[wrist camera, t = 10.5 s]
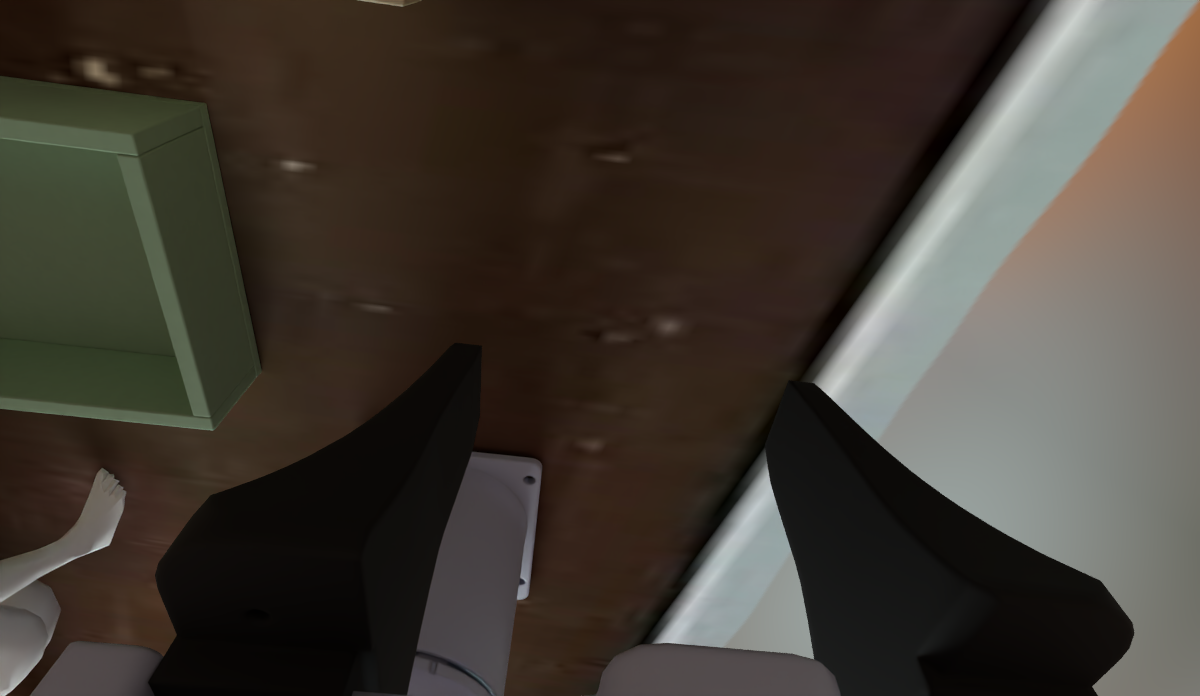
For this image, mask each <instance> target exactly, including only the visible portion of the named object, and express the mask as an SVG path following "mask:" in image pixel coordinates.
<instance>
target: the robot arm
mask: <svg viewBox="0 0 1200 696" xmlns="http://www.w3.org/2000/svg"><path fill="white" fill-rule="evenodd" d="M481 358H482V346H479V345H471V344H462V343H454V344H453V345H451V346H450V347H449V348H448V349H447V350H446V351H445V353H444V354H443V355H442V356H441V357H440V358H439V359H438V360H437V361H436V362H435V363H434V364H433V365H432V366H431V367H430V368H429V369H428V370H427V371H426V372H425V373H424V374H423V375H422V376H421V377H420V378H419V379H418V380H417V381H415V382H414V383H413V384H412V385H411V386H410V387H409V388H408V389H407V390H406V391H405V392H403V393H402V394H401V395H400V396H399V397H398V398H396V399H395V400H394V401H393V402H391V403H390V404H389V405H388V406H387V407H385V408H384V409H383V410H382V411H380V412H379V413H378V414H376V415H375V416H374V417H372V418H371V419H370V420H368V421H367V422H365V423H364V424H363V425H361V426H360V427H358V428H357V429H355V430H354V431H352V432H351V433H349V434H348V435H346V436H344V437H343V438H341V439H339V440H337V441H335V442H334V443H332V444H330V445H328V446H326V447H325V448H323V449H321V450H319V451H317V452H316V453H314V454H312V455H310V456H308V457H306V458H304V459H302V460H300V461H298V462H296V463H293V464H291V465H289V466H287V467H285V468H282V469H280V470H278V471H275V472H273V473H271V474H268V475H266V476H263V477H261V478H258V479H256V480H253V481H250V482H247V483H245V484H242V485H239V486H236V487H233V488H231V489H228V490H225V491H222V492H219V493H216V494H213V495H211V496H210V497H209V498H208V499H207V500H206V501H205V503H204V504H203V505H202V506H201V507H200V508H199V509H198V510H197V511H196V513H195V514H194V515H193V516H192V518H191V519H190V520H189V521H188V523H187V524H186V525H185V527H184V528H183V529H182V531H181V532H180V534H179V535H178V536H177V538H176V539H175V541H174V542H173V543H172V545H171V546H170V548H169V549H168V550H167V552H166V553H165V555H164V556H163V557H162V559H161V560H160V562H159V563H158V567H157V570H156V574H155V577H156V582H157V587H158V590H159V593H160V595H161V598H162V600H163V602H164V605H165V607H166V610H167V612H168V614H169V617H170V619H171V622H172V624H173V626H174V629H175V631H176V634H177V636H176V638H175V639H174V641H173V643H172V644H171V646H170V647H169V649H168V651H167V652H166V654H165V656H164V657H163V656H162V655H161V654H160V653H159V652H157V651H155V650H153V649H151V648H147V647H142V646H135V645H123V644H110V643H98V642H86V641H76V642H72V643H70V644H69V645H68V646H67V648H66V649H65V650H64V652H63V653H62V654H61V656H60V657H59V658H58V659H57V661H56V662H55V663H54V665H53V666H52V667H51V669H50V670H49V671H48V673H47V674H46V675H45V676H44V678H43V679H42V680H41V682H40V683H39V684H38V686H37V687H36V688H35V690H34V691H33V692H32V693H31V695H30V696H503V695H504V688H505V681H506V674H507V667H508V659H509V652H510V645H511V638H512V631H513V624H514V616H515V609H516V602H517V600H521V599H525V598H526V597H528V595H529V588H530V578H531V569H532V559H533V550H534V541H535V531H536V522H537V512H538V503H539V494H540V484H541V475H542V464H541V462H540V461H538V460H537V459H534V458H528V457H519V456H509V455H499V454H490V453H480V452H472V450H473V445H474V441H475V436H476V431H477V426H478V422H479V417H480V392H481ZM765 449H766V456H767V464H768V470H769V476H770V482H771V486H772V489H773V493H774V496H775V499H776V503H777V506H778V509H779V512H780V516H781V519H782V522H783V525H784V528H785V532H786V535H787V538H788V541H789V544H790V548H791V551H792V554H793V557H794V560H795V564H796V567H797V571H798V575H799V579H800V582H801V587H802V593H803V597H804V603H805V608H806V613H807V618H808V624H809V630H810V636H811V642H812V648H813V654H814V659H810V658H806V657H802V656H798V655H795V654H788V653H776V652H765V651H753V650H742V649H730V648H719V647H707V646H696V645H684V644H672V643H661V644H646V645H639V646H636V647H634V648H632V649H629V650H627V651H624V652H622V653H620V654H618V655H617V656H615V657H614V658H613V659H612V661H611V662H610V663H609V665H608V666H607V667H606V669H605V670H604V671H603V673H602V677H601V681H600V685H599V689H598V692H597V694H596V695H588V696H1098V695H1097V694H1096V692H1095V691H1094V689H1093V688H1092V686H1093V685H1094V684H1095V683H1096V682H1097V681H1098V680H1099V679H1100V678H1101V677H1102V676H1103V675H1104V674H1106V673H1107V672H1108V671H1109V670H1110V669H1111V668H1112V667H1113V666H1114V665H1115V664H1116V663H1117V662H1118V661H1119V660H1120V659H1121V658H1122V657H1123V655H1124V654H1125V653H1126V652H1127V650H1128V649H1129V648H1130V645H1131V642H1132V639H1133V636H1134V629H1133V624H1132V622H1131V620H1130V619H1129V618H1128V616H1127V615H1126V614H1125V612H1124V611H1123V610H1122V609H1121V607H1120V606H1119V604H1118V603H1117V602H1116V600H1115V599H1114V598H1113V597H1112V595H1111V594H1110V592H1109V591H1108V590H1107V588H1106V587H1105V586H1104V585H1103V583H1102V582H1101V581H1100V580H1098V579H1095V578H1093V577H1091V576H1089V575H1087V574H1085V573H1082V572H1080V571H1078V570H1076V569H1074V568H1072V567H1069V566H1067V565H1065V564H1063V563H1061V562H1059V561H1056V560H1054V559H1052V558H1050V557H1048V556H1046V555H1044V554H1042V553H1040V552H1038V551H1036V550H1034V549H1032V548H1030V547H1028V546H1027V545H1024V544H1023V543H1021V542H1019V541H1017V540H1015V539H1013V538H1011V537H1010V536H1008V535H1006V534H1004V533H1002V532H1001V531H999V530H997V529H996V528H994V527H992V526H990V525H989V524H987V523H986V522H984V521H982V520H981V519H979V518H978V517H976V516H974V515H973V514H971V513H969V512H968V511H966V510H965V509H963V508H961V507H960V506H958V505H957V504H955V503H954V502H952V501H951V500H950V499H948V498H947V497H945V496H944V495H942V494H941V493H940V492H938V491H937V490H936V489H934V488H933V487H931V486H930V485H929V484H927V483H926V482H925V481H923V480H922V479H920V478H919V477H918V476H917V475H915V474H914V473H913V472H911V471H910V470H909V469H908V468H907V467H905V466H904V465H903V464H902V463H901V462H899V461H898V460H897V459H896V458H895V457H893V456H892V455H891V454H890V453H889V452H888V451H886V450H885V449H884V448H883V447H882V446H881V445H880V444H879V443H877V442H876V441H875V440H874V439H873V438H872V437H871V436H870V435H869V434H868V433H867V432H865V431H864V430H863V429H862V428H861V427H860V426H859V425H858V424H857V423H856V422H855V421H854V420H853V419H852V418H851V417H850V416H849V415H848V414H847V413H846V412H845V411H843V410H842V409H841V408H840V407H839V406H838V405H837V404H836V403H835V402H834V401H833V400H832V399H831V398H830V397H829V396H828V395H827V394H826V393H825V392H823V391H822V390H821V389H820V388H819V387H818V386H817V385H815V384H814V383H806V382H798V381H788V384H787V386H786V389H785V392H784V395H783V397H782V400H781V403H780V406H779V408H778V411H777V414H776V417H775V419H774V422H773V425H772V428H771V430H770V433H769V436H768V439H767V441H766V444H765ZM526 476H531V477H533V478H527V477H526Z"/></svg>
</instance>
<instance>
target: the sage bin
mask: <svg viewBox="0 0 1200 696" xmlns="http://www.w3.org/2000/svg"><path fill="white" fill-rule="evenodd" d="M261 371H262V370H261V366H260V361H259V356H258V351H257V346H256V342H255V337H254V332H253V327H252V322H251V317H250V313H249V308H248V303H247V298H246V293H245V288H244V284H243V279H242V274H241V269H240V264H239V259H238V255H237V250H236V245H235V240H234V235H233V230H232V226H231V221H230V216H229V211H228V206H227V201H226V197H225V192H224V187H223V182H222V177H221V172H220V168H219V163H218V158H217V153H216V148H215V143H214V139H213V134H212V129H211V124H210V119H209V114H208V110H207V105H206V103H200V102H193V101H185V100H178V99H170V98H163V97H155V96H147V95H140V94H132V93H125V92H117V91H110V90H102V89H95V88H87V87H80V86H72V85H65V84H57V83H50V82H42V81H34V80H27V79H19V78H12V77H4V76H0V409H9V410H19V411H29V412H38V413H48V414H58V415H68V416H78V417H87V418H97V419H107V420H117V421H126V422H136V423H146V424H156V425H165V426H175V427H185V428H195V429H204V430H215V428H216V427H217V426H218V425H219V423H220V422H221V421H222V420H223V418H224V417H225V416H226V415H227V413H228V412H229V411H230V410H231V408H232V407H233V406H234V405H235V403H236V402H237V401H238V400H239V398H240V397H241V396H242V395H243V394H244V392H245V391H246V390H247V389H248V387H249V386H250V385H251V384H252V382H253V381H254V380H255V379H256V377H257V376H258V375H259V374H260V373H261Z"/></svg>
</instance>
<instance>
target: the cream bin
mask: <svg viewBox="0 0 1200 696" xmlns="http://www.w3.org/2000/svg"><path fill="white" fill-rule="evenodd" d="M360 1H366V2H373V3H380V4H387V5H394V6H401V7H403V6H406V5H409V4H412V3H415V2H418V1H421V0H360Z"/></svg>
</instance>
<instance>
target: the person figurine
mask: <svg viewBox="0 0 1200 696" xmlns="http://www.w3.org/2000/svg"><path fill="white" fill-rule="evenodd" d="M113 478H114V474H109V472H108V471H106V470H105V469H103V468H102V469H101V470H100V471H99V472H98V473H97V475H96V477H95V480H94V483H93V486H92V489H91V492H90V495H89V497H88V499H87V502H86V504H85V507H84V509H83V512H82V514H81V516H80V518H79V519H78V521H77V522H76V523H75V525H74V526H73V527H72V528H71V529H70V530H69V531H68V532H67V533H66V534H65V535H64V536H63V537H61V538H60V539H59V540H58V541H56V542H54V543H51V544H49V545H47V546H44V547H42V548H40V549H37V550H34V551H30V552H27V553H24V554H20V555H17V556H14V557H10V558H7V559H4V560H0V696H5V695H7V694H8V693H10V692H11V691H12V690H13V689H14V688H15V687H16V686H17V685H18V684H19V683H20V682H21V681H22V680H23V679H24V678H25V677H26V676H27V675H28V674H29V673H30V671H31V670H32V669H33V668H34V667H35V666H36V664H37V663H38V662H39V661H40V660H41V658H42V656H43V653H44V650H45V648H46V646H47V645H48V643H49V642H50V640H51V637H52V635H53V632H54V629H55V626H56V623H57V620H58V617H59V615H60V612H61V608H60V606H59V604H58V602H57V600H56V597H55V595H54V593H53V591H52V589H51V587H50V586H48V585H46V584H44V583H42V582H40V581H38V580H36V579H38V578H39V577H41V576H43V575H45V574H47V573H49V572H51V571H52V570H54V569H56V568H58V567H60V566H62V565H64V564H66V563H68V562H70V561H72V560H74V559H76V558H78V557H81V556H83V555H86V554H88V553H91V552H94V551H96V550H99V549H101V548H104V547H106V546H109V545H110V543H111V540H112V537H113V535H114V532H115V530H116V527H117V524H118V522H119V519H120V517H121V515H122V512H123V509H124V504H125V501H124V498H125V495H126V491H124V490H122V489H123V487H122V486H120V485H117V484H118V482H119V481H118V480H116V479H113ZM115 487H116V488H115Z"/></svg>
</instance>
